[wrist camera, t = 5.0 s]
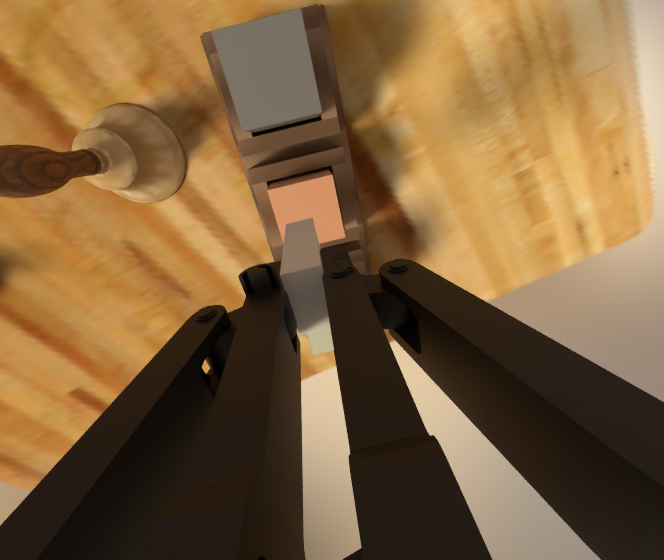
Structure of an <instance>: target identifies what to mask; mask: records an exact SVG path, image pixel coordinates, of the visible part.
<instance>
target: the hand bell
mask: <svg viewBox="0 0 664 560" xmlns="http://www.w3.org/2000/svg"><path fill="white" fill-rule="evenodd" d="M184 175H185V157H184V152H183V149H182V146H181V144H180V142H179V140H178V138H177V136H176V135H175V133H174V132H173V131H172V129H171V128H170V127H169V126H168V125H167V123H165V122H164V121H163V120H162V119H161V118H160V117H158V116H157V115H155V114H154V113H152V112H150V111H149V110H146V109H144V108H142V107H139V106H135V105H130V104H116V105H111V106H108V107H105V108H104V109H102V110H100V111H99V112H98V113H97V114H96V115H95V116H94V117H93V118H92V119H91V121H90V123H89V125H88V127H87V129H86V130H84V131H82V132H81V133H79V134H78V135H77V136H76V138H75V139H74V141H73V144H72V151H69V152H56V151H53V150H50V149H47V148H43V147H39V146H32V145H4V146H0V197H9V198H29V197H35V196H39V195H44V194H47V193H50V192H53V191H55V190H57V189H59V188H61V187H62V186H64V185H65V184H66V183H67V182H68V181H69V180H70V179H72V178H76V177H84V178H85V179H86V180H88V181H89V182H90V183H92V184H93V185H95V186H97V187H99V188H102V189H106V190H112V191H113V192H115V193H116V194H118V195H120V196H122V197H124V198H126V199H128V200H131V201H135V202H139V203H156V202H160V201H163V200H165V199H167V198H169V197H170V196H172V195H173V194H174V193H175V192H176V191H177V190H178V189H179V187H180V185H181V183H182V181H183V178H184Z"/></svg>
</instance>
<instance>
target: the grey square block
mask: <svg viewBox="0 0 664 560" xmlns="http://www.w3.org/2000/svg"><path fill="white" fill-rule="evenodd" d="M211 33H212V36H213V39H214V43H215V46H216V49H217V52H218V55H219V58H220V61H221V65H222V68H223V71H224V74H225V77H226V80H227V84H228V87H229V90H230V93H231V96H232V99H233V102H234V106H235V109H236V112H237V115H238V118H239V121H240V125H241V128H242V131H243V132H259V131H263V130H267V129H271V128H275V127H279V126H283V125H287V124H291V123H295V122H299V121H303V120H307V119H311V118H316V117H318V116H319V115H320V114H321V113H322V109H321V104H320V100H319V95H318V90H317V85H316V80H315V75H314V70H313V65H312V60H311V56H310V51H309V46H308V41H307V36H306V31H305V26H304V21H303V16H302V12H301V8H300V9H296V10H292V11H288V12H284V13H280V14H276V15H273V16H269V17H265V18H261V19H257V20H253V21H249V22H245V23H241V24H237V25H233V26H229V27H225V28H221V29H217V30H213V31H211Z"/></svg>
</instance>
